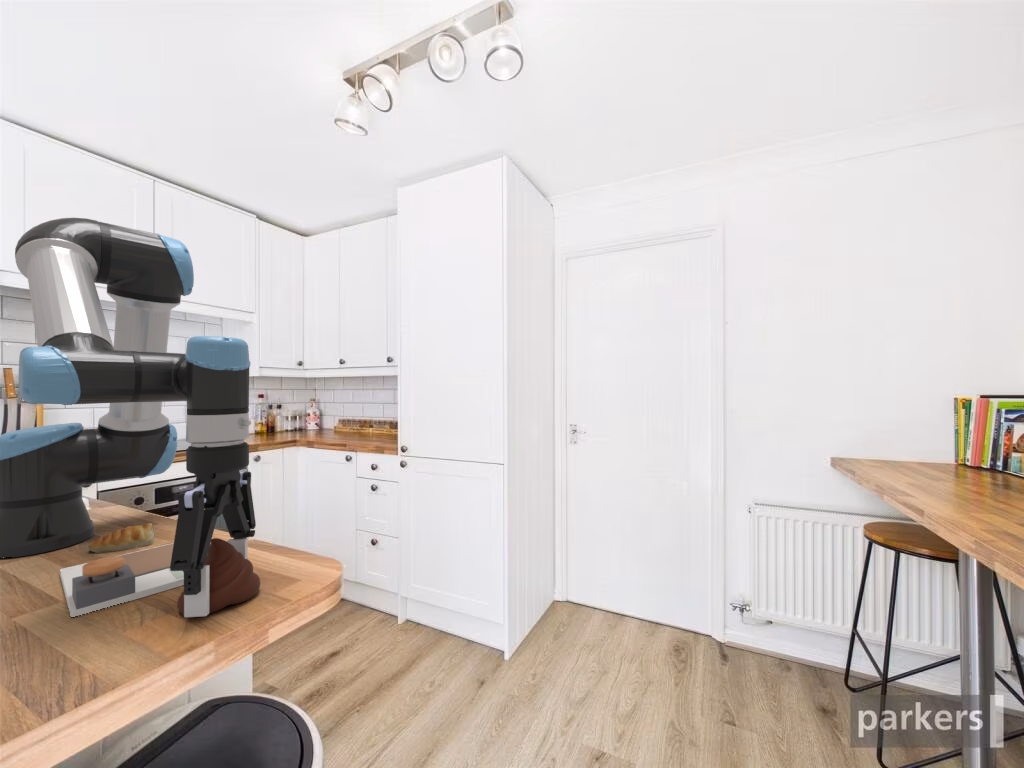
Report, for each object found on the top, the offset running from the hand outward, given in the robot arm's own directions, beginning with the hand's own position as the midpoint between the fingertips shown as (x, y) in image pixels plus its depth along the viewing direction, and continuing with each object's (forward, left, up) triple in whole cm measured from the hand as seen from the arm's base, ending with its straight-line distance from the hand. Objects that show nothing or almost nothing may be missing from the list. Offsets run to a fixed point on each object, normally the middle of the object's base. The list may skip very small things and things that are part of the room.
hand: (218, 596), depth 61 cm
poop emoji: (0, 0, -1) cm, 1 cm away
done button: (-2, -17, +2) cm, 17 cm away
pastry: (-25, -30, -1) cm, 39 cm away
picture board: (-11, -18, -1) cm, 21 cm away
